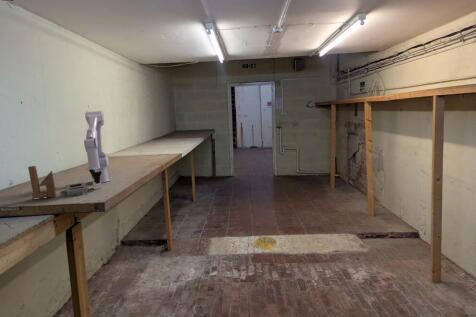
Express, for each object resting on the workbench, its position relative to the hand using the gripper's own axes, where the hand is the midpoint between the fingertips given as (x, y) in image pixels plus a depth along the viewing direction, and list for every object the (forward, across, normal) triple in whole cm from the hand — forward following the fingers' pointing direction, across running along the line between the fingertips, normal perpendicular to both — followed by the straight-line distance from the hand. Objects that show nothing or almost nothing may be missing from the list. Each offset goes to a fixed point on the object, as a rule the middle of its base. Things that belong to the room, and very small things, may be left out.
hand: (96, 182), depth 195 cm
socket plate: (+4, -1, -11) cm, 12 cm away
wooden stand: (+4, 0, -27) cm, 27 cm away
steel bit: (+4, 0, 0) cm, 4 cm away
